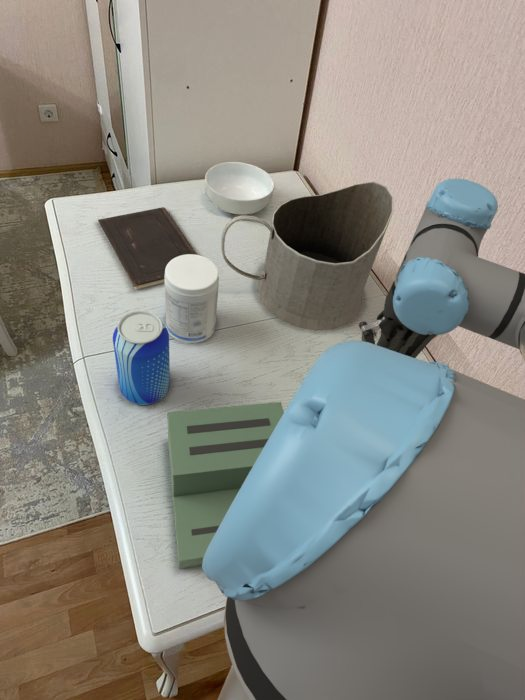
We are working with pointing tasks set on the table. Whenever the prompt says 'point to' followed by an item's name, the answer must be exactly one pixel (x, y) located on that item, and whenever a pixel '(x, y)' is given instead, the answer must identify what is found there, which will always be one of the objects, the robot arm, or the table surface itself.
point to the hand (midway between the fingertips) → (369, 390)
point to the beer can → (142, 357)
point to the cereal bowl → (239, 187)
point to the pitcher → (321, 254)
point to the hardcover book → (145, 244)
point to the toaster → (212, 467)
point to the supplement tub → (191, 297)
